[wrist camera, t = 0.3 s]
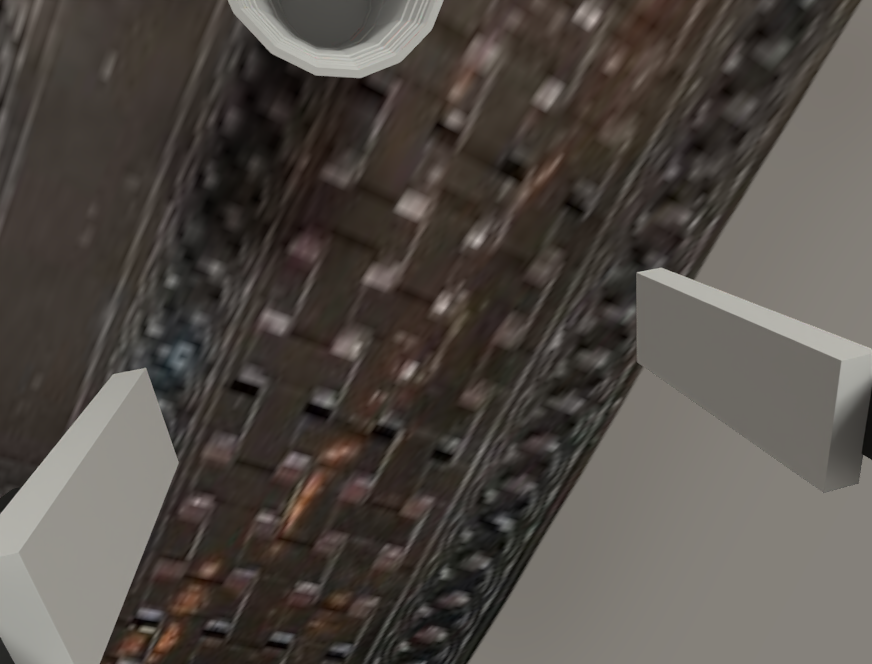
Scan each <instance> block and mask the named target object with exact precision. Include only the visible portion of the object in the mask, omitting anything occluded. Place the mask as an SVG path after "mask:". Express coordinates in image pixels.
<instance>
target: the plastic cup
mask: <svg viewBox="0 0 872 664" xmlns="http://www.w3.org/2000/svg"><path fill="white" fill-rule="evenodd" d="M228 2H229V4H230V6H231V8H232V11H233V13H234V14H235V15H236V16H237V17H238V18H239V20H240V21H241V22H242V23H243V24H244V25H245V26H246V27H247V28H248V29H249V30H250V31H251V32H252V33H253V34H254V36H255V37H256V38H257V39H258V40H259V41H260V42H261V43H262V44H263V45H264V46H265V47H266V48H267V49H268V51H269V52H270V53H271V54H273V55H275V56H277V57H279V58H281V59H283V60H285V61H287V62H289V63H291V64H293V65H296V66H298V67H300V68H302V69H304V70H306V71H308V72H310V73H312V74H314V75H316V76H334V77H351V78H362V77H364V76H367V75H369V74H372V73H374V72H377V71H380V70H382V69H385V68H387V67H390V66H392V65H395V64H397V63H400V62H401V61H402V60H403V59H404V58H405V57H406V56H407V55H408V54H409V53H410V52H411V51H412V50H413V49H414V48H415V47H416V46H417V45H418V44H419V43H420V41H421V40H422V39H423V38H424V37H425V36H426V35H427V34H428V33H429V32H430V31H431V30H432V28H433V25H434V23H435V20H436V18H437V15H438V13H439V10H440V8H441V5H442V3H443V0H228Z"/></svg>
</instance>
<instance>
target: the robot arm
mask: <svg viewBox="0 0 872 664" xmlns="http://www.w3.org/2000/svg"><path fill="white" fill-rule="evenodd" d="M636 280H637V362H638V363H639V364H641V365H642V366H643V367H645V368H646V369H648V370H649V371H651V372H652V373H653V374H655V375H656V376H658V377H659V378H661V379H662V380H663V381H665V382H666V383H668V384H669V385H671V386H672V387H673V388H675V389H676V390H678V391H679V392H680V393H682V394H683V395H685V396H686V397H688V398H689V399H690V400H692V401H693V402H695V403H696V404H698V405H699V406H701V407H702V408H704V409H705V410H706V411H708V412H709V413H710V414H712V415H713V416H715V417H716V418H718V419H719V420H720V421H722V422H723V423H725V424H726V425H728V426H729V427H731V428H732V429H733V430H735V431H736V432H738V433H739V434H741V435H742V436H743V437H745V438H746V439H748V440H749V441H750V442H752V443H753V444H755V445H756V446H757V447H759V448H760V449H762V450H763V451H765V452H766V453H768V454H769V455H770V456H772V457H773V458H775V459H776V460H777V461H779V462H780V463H782V464H783V465H785V466H786V467H787V468H789V469H790V470H792V471H793V472H795V473H796V474H797V475H799V476H800V477H802V478H803V479H805V480H806V481H807V482H809V483H810V484H812V485H813V486H815V487H816V488H818V489H819V490H820V491H822V492H823V493H825V492H829V491H833V490H836V489H840V488H844V487H847V486H851V485H855V484H858V483H859V477H860V471H861V465H862V458H863V455H865V456H867V457H868V458H870V459H871V460H872V349H871V348H868V347H866V346H863V345H860V344H858V343H855V342H852V341H850V340H848V339H845V338H842V337H840V336H837V335H835V334H832V333H829V332H827V331H824V330H822V329H819V328H816V327H814V326H811V325H809V324H806V323H803V322H801V321H798V320H796V319H793V318H790V317H788V316H785V315H783V314H780V313H777V312H775V311H772V310H770V309H767V308H765V307H762V306H759V305H757V304H754V303H752V302H748V301H746V300H744V299H741V298H738V297H736V296H733V295H731V294H728V293H726V292H723V291H720V290H718V289H715V288H712V287H710V286H707V285H705V284H702V283H700V282H697V281H694V280H692V279H689V278H687V277H684V276H681V275H679V274H676V273H674V272H671V271H668V270H666V269H663V268H658V269H652V270H647V271H642V272H637V273H636ZM178 463H179V462H178V459H177V456H176V453H175V451H174V448H173V445H172V442H171V439H170V436H169V433H168V430H167V427H166V424H165V422H164V419H163V416H162V413H161V410H160V407H159V404H158V401H157V398H156V395H155V393H154V390H153V387H152V384H151V381H150V378H149V375H148V372H147V369H146V368H143V369H138V370H133V371H128V372H122V373H117V374H113V375H112V376H111V378H110V379H109V380H108V381H107V382H106V384H105V385H104V386H103V387H102V389H101V390H100V391H99V392H98V394H97V395H96V396H95V397H94V399H93V400H92V401H91V402H90V404H89V405H88V406H87V407H86V408H85V410H84V411H83V412H82V413H81V415H80V416H79V417H78V418H77V420H76V421H75V422H74V423H73V425H72V426H71V427H70V428H69V430H68V431H67V432H66V433H65V434H64V436H63V437H62V438H61V439H60V441H59V442H58V443H57V444H56V446H55V447H54V448H53V449H52V451H51V452H50V453H49V454H48V456H47V457H46V458H45V459H44V460H43V462H42V463H41V464H40V465H39V467H38V468H37V469H36V470H35V472H34V473H33V474H32V475H31V477H30V478H29V479H28V480H27V482H26V483H25V484H24V485H23V486H22V487H20V488H15V489H12V490H11V491H9V492H8V493H7V494H5V495H4V496H3V497H1V498H0V664H100V661H101V659H102V656H103V654H104V651H105V649H106V646H107V644H108V641H109V639H110V636H111V633H112V631H113V628H114V626H115V623H116V621H117V618H118V616H119V613H120V611H121V608H122V606H123V603H124V600H125V598H126V595H127V593H128V590H129V588H130V585H131V583H132V580H133V578H134V575H135V572H136V570H137V567H138V565H139V562H140V560H141V557H142V555H143V552H144V550H145V547H146V545H147V542H148V539H149V537H150V534H151V532H152V529H153V527H154V524H155V522H156V519H157V517H158V514H159V512H160V509H161V506H162V504H163V501H164V499H165V496H166V494H167V491H168V489H169V486H170V484H171V481H172V478H173V476H174V473H175V471H176V468H177V466H178Z"/></svg>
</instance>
